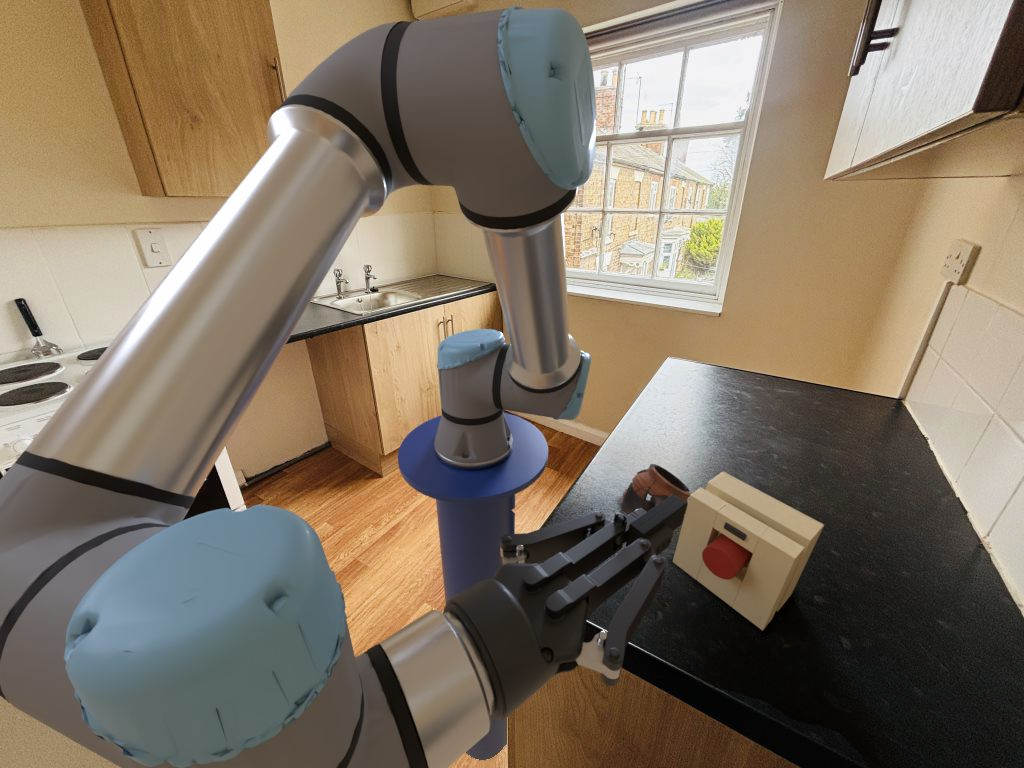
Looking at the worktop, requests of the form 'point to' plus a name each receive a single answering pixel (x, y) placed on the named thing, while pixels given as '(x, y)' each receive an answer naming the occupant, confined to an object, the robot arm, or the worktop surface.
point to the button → (725, 557)
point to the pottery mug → (652, 489)
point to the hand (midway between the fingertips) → (677, 509)
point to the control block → (747, 545)
